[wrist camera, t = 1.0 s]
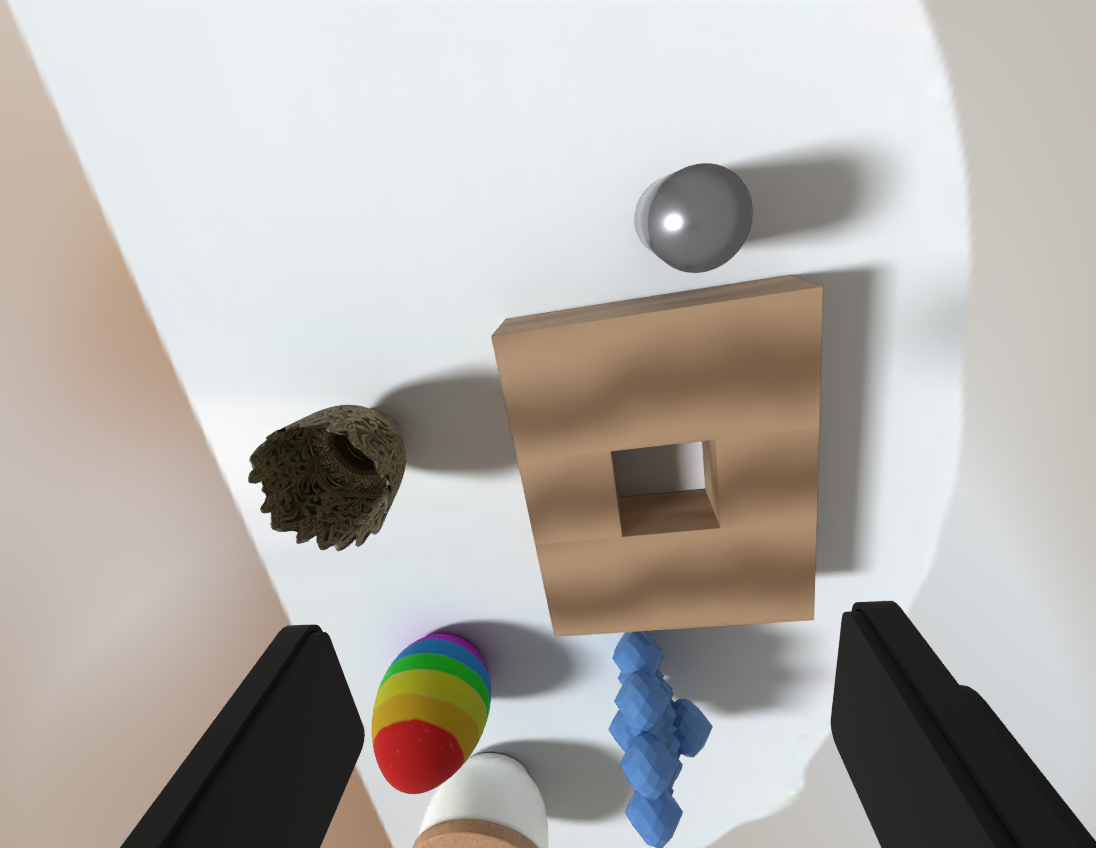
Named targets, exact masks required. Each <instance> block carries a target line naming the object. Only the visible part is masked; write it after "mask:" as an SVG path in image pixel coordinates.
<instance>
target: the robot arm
mask: <svg viewBox="0 0 1096 848" xmlns="http://www.w3.org/2000/svg"><path fill="white" fill-rule="evenodd" d="M831 730H832V735H833V738H834V741H835V744H836V747H837V749H838V751H839V754H840V756H841V758H842V760H843V763H844V765H845V767H846V769H847V771H848V774H849V776H850V778H851V780H852V783H853V785H854V787H855V789H856V791H857V794H858V796H859V798H860V801H861V803H862V805H863V807H864V810H865V812H866V814H867V816H868V819H869V821H870V823H871V825H872V828H873V830H874V832H875V834H876V836H877V839H878V841H879V843H880V845H881V848H1096V841H1095V840H1094V838H1093V837H1092V836H1091V835H1090V834H1089V832H1088V831H1087V830H1086V828H1085V827H1084V826H1083V824H1082V823H1081V822H1080V821H1079V819H1078V818H1077V817H1076V815H1075V814H1074V813H1073V812H1072V810H1071V809H1070V808H1069V807H1068V805H1067V804H1066V803H1065V802H1064V801H1063V799H1062V798H1061V796H1060V795H1059V794H1058V793H1057V791H1056V790H1055V789H1054V788H1053V786H1052V785H1051V784H1050V782H1049V781H1048V780H1047V779H1046V777H1045V776H1044V775H1043V774H1042V772H1041V771H1040V770H1039V768H1038V767H1037V766H1036V765H1035V764H1034V762H1033V761H1032V760H1031V758H1030V757H1029V756H1028V754H1027V753H1026V752H1025V751H1024V749H1023V748H1022V747H1021V746H1020V744H1019V743H1018V742H1017V741H1016V739H1015V738H1014V737H1013V735H1012V734H1011V733H1010V732H1009V731H1008V729H1007V728H1006V726H1005V725H1004V724H1003V723H1002V721H1001V720H1000V719H999V718H998V716H997V715H996V714H995V712H994V711H993V710H992V709H991V707H990V706H989V705H988V704H987V702H986V701H985V700H984V699H983V698H982V697H981V696H980V695H979V694H978V693H977V692H976V691H975V690H973V689H972V688H970V687H968V686H963V685H959V684H958V683H957V681H956V680H955V679H954V677H953V676H952V675H951V673H950V672H949V671H948V670H947V668H946V667H945V666H944V664H943V663H942V662H941V660H940V659H939V658H938V656H937V655H936V654H935V652H934V651H933V650H932V648H931V647H930V646H929V644H928V643H927V642H926V640H925V639H924V638H923V637H922V635H921V634H920V633H919V632H918V630H917V629H916V627H915V626H914V625H913V623H912V622H911V621H910V619H909V618H908V617H907V615H906V614H905V613H904V611H903V610H902V609H901V608H900V606H899V605H898V604H897V603H895V602H893V601H875V602H856V603H854V605H853V607H852V612H844V613H843V615H842V622H841V631H840V640H839V649H838V658H837V667H836V677H835V686H834V695H833V704H832V713H831ZM364 736H365V734H364V727H363V724H362V721H361V719H360V716H359V713H358V711H357V708H356V705H355V703H354V700H353V697H352V695H351V692H350V689H349V687H348V684H347V681H346V679H345V676H344V673H343V671H342V668H341V665H340V663H339V660H338V657H337V655H336V652H335V649H334V647H333V644H332V641H331V639H330V636H329V635H328V634H327V633H326V632H323V631H322V629H321V628H320V627H319V626H318V625H292V626H286V627H284V628H283V629H282V630H281V631H280V632H279V633H278V634H277V636H276V637H275V638H274V640H273V641H272V642H271V644H270V645H269V646H268V648H267V649H266V651H265V652H264V653H263V655H262V656H261V657H260V659H259V660H258V661H257V663H256V664H255V666H254V667H253V668H252V670H251V671H250V672H249V674H248V675H247V676H246V678H245V679H244V680H243V682H242V683H241V684H240V686H239V687H238V689H237V690H236V691H235V693H234V694H233V696H232V697H231V698H230V699H229V701H228V702H227V704H226V705H225V706H224V707H223V709H222V710H221V712H220V713H219V714H218V716H217V717H216V719H215V720H214V721H213V722H212V724H211V725H210V727H209V728H208V729H207V731H206V732H205V733H204V735H203V736H202V737H201V739H200V740H199V741H198V743H197V744H196V745H195V747H194V748H193V750H192V751H191V752H190V754H189V755H188V756H187V758H186V759H185V760H184V762H183V763H182V764H181V766H180V767H179V769H178V770H177V771H176V773H175V774H174V775H173V777H172V778H171V779H170V781H169V782H168V783H167V785H166V786H165V787H164V789H163V790H162V792H161V793H160V794H159V796H158V797H157V798H156V800H155V801H154V802H153V804H152V805H151V806H150V808H149V809H148V811H147V812H146V813H145V815H144V816H143V817H142V819H141V820H140V821H139V823H138V824H137V825H136V827H135V828H134V830H133V831H132V832H131V834H130V835H129V836H128V838H127V839H126V840H125V842H124V843H123V844H122V846H121V847H120V848H320V846H321V844H322V842H323V839H324V837H325V835H326V832H327V830H328V828H329V825H330V823H331V821H332V818H333V816H334V814H335V811H336V809H337V807H338V804H339V802H340V799H341V797H342V795H343V792H344V790H345V788H346V785H347V783H348V781H349V778H350V776H351V774H352V771H353V769H354V767H355V764H356V762H357V760H358V757H359V755H360V753H361V750H362V747H363V743H364Z"/></svg>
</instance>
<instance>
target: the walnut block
mask: <svg viewBox="0 0 1096 848" xmlns="http://www.w3.org/2000/svg"><path fill="white" fill-rule="evenodd" d="M822 306H823V286H820V285H817V284H814V283H811V282H809V281H806V280H803V279H800V278H797V277H794V276H791V275H787V276H780V277H774V278H767V279H761V280H754V281H748V282H742V283H735V284H729V285H722V286H716V287H709V288H703V289H696V290H690V291H683V292H677V293H670V294H664V295H658V296H651V297H645V298H638V299H632V300H625V301H619V302H612V303H606V304H599V305H593V306H586V307H580V308H574V309H567V310H561V311H554V312H548V313H541V314H535V315H528V316H522V317H515V318H509V319H505V320H504V321H503V323H502V324H501V325H500V326H499V328H498V329H497V330H496V331H495V332H494V334H493V335H492V336H491V338H492V342H493V347H494V352H495V357H496V361H497V366H498V371H499V376H500V380H501V385H502V390H503V395H504V399H505V404H506V409H507V413H508V418H509V423H510V428H511V432H512V437H513V442H514V447H515V451H516V456H517V461H518V466H519V470H520V475H521V480H522V485H523V489H524V494H525V499H526V503H527V508H528V513H529V518H530V522H531V527H532V532H533V537H534V541H535V546H536V551H537V556H538V560H539V565H540V570H541V575H542V579H543V584H544V589H545V593H546V598H547V603H548V608H549V612H550V617H551V622H552V627H553V631H554V636H555V637H558V636H574V635H589V634H605V633H620V632H636V631H651V630H667V629H682V628H698V627H713V626H729V625H745V624H760V623H776V622H791V621H807V620H814V600H815V564H816V527H817V490H818V453H819V416H820V379H821V343H822ZM697 441H702V445H703V461H704V476H705V489H699V490H689V491H679V492H669V493H659V494H650V495H640V496H630V497H620V498H619V494H618V486H617V479H616V471H615V464H614V457H613V451H618V450H627V449H636V448H644V447H653V446H662V445H671V444H679V443H688V442H697Z"/></svg>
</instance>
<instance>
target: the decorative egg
mask: <svg viewBox="0 0 1096 848" xmlns="http://www.w3.org/2000/svg"><path fill="white" fill-rule="evenodd" d="M490 702H491V684H490V677H489V673H488V669H487V667H486V664H485V662H484V660H483V658H482V656H481V655H480V653H479V652H478V650H477V649H476V648H475V647H474V646H473V645H472V644H471V643H469V642H468V641H466V640H465V639H463V638H460V637H458V636H456V635H451V634H433V635H429V636H426V637H424V638H421V639H419V640H417V641H416V642H414V643H412V644H411V645H409V646H408V647H407V648H406V649H404V650H403V651H402V652H401V653H400V654H399V655H398V657H397V658H396V659H395V660H394V661H393V663H392V664H391V666H390V667H389V669H388V670H387V672H386V674H385V676H384V678H383V680H382V682H381V685H380V687H379V690H378V693H377V696H376V700H375V704H374V709H373V718H372V742H373V748H374V753H375V757H376V760H377V763H378V765H379V768H380V770H381V772H382V774H383V776H384V777H385V778H386V780H387V781H388V782H389V783H390V784H391V785H392V786H393V787H394V788H395V789H397V790H399V791H401V792H404V793H407V794H420V793H424V792H427V791H430V790H432V789H434V788H436V787H438V786H439V785H441V784H442V783H444V782H445V781H447V780H448V779H449V778H451V777H452V776H453V775H454V774H455V773H456V772H457V771H458V770H459V769H460V768H461V767H462V766H463V764H464V763H465V762H466V761H467V759H468V758H469V756H470V755H471V754H472V752H473V750H474V749H475V747H476V745H477V744H478V742H479V740H480V737H481V735H482V733H483V730H484V727H485V725H486V722H487V718H488V714H489V709H490Z"/></svg>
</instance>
